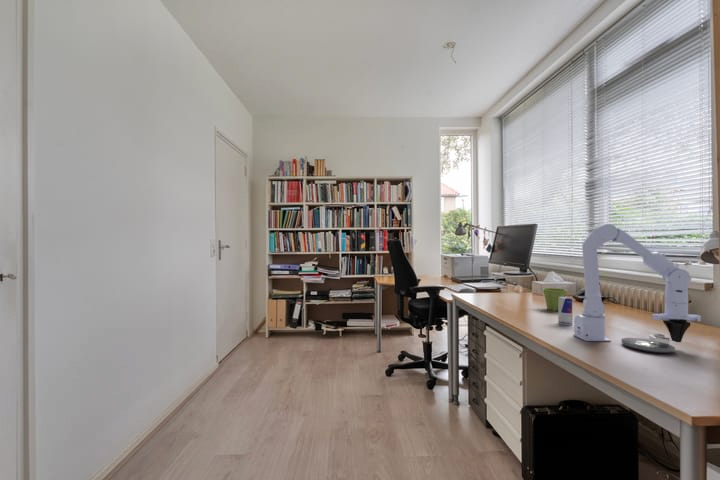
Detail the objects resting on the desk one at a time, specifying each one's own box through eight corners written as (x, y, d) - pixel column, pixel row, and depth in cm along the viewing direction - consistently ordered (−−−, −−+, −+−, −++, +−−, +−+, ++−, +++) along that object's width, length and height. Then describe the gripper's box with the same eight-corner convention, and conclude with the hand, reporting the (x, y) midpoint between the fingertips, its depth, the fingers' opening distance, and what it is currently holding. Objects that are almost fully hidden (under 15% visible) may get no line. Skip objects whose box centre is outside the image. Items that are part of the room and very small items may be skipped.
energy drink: (572, 326, 143) (572, 298, 143) (558, 324, 146) (558, 297, 146) (572, 323, 148) (572, 297, 148) (558, 321, 150) (558, 296, 150)
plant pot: (567, 309, 179) (567, 288, 179) (567, 313, 169) (567, 291, 169) (542, 306, 185) (542, 287, 185) (541, 310, 175) (541, 289, 175)
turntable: (642, 354, 107) (642, 350, 107) (611, 341, 121) (611, 337, 121) (687, 355, 106) (687, 350, 106) (650, 342, 120) (650, 338, 120)
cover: (657, 346, 111) (657, 336, 111) (645, 341, 116) (645, 332, 116) (673, 346, 110) (673, 336, 110) (660, 341, 116) (660, 332, 116)
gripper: (664, 304, 109) (664, 344, 109) (710, 304, 109) (710, 345, 109) (647, 300, 116) (647, 338, 116) (689, 300, 116) (689, 339, 116)
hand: (676, 341), depth 113 cm, fingers closed
